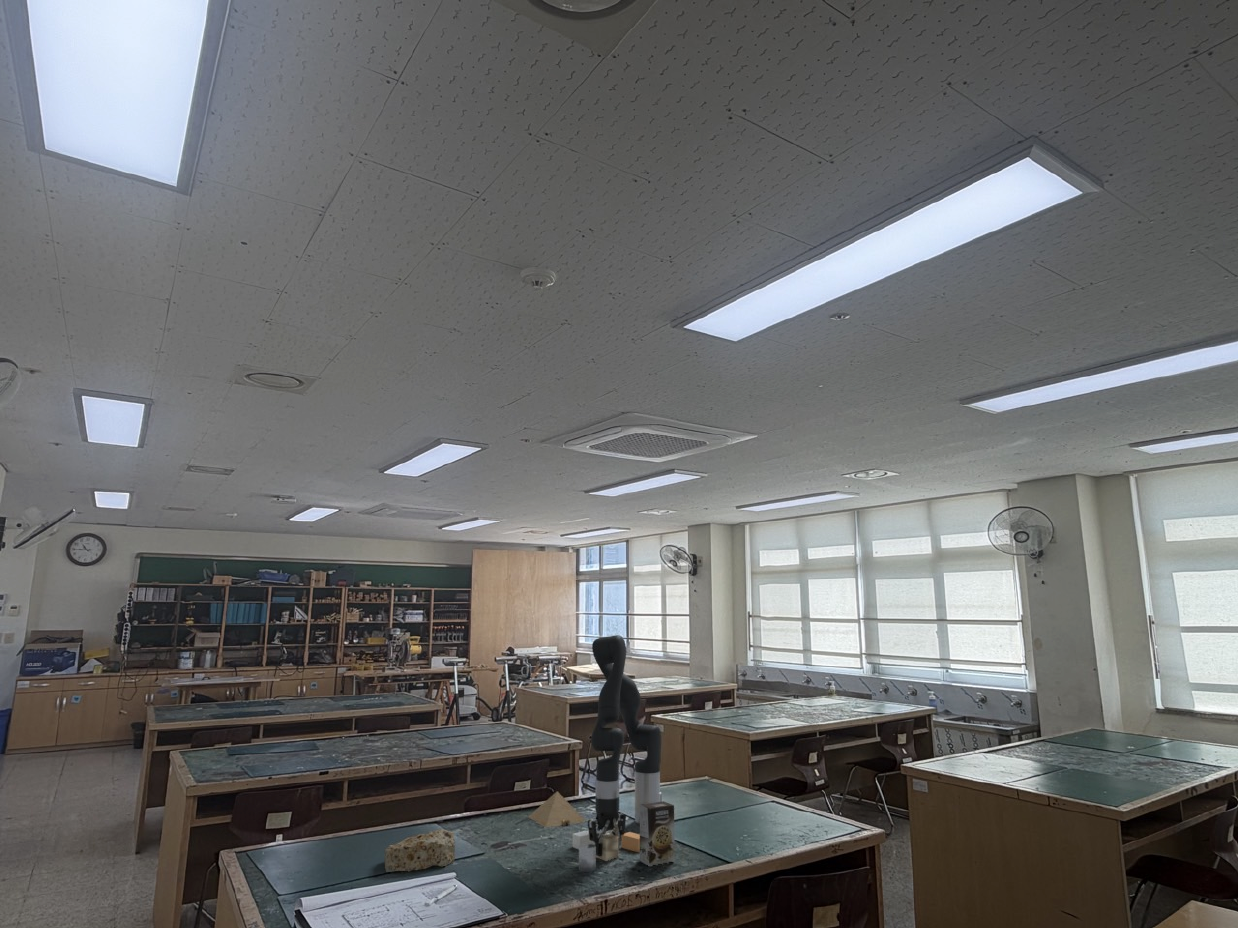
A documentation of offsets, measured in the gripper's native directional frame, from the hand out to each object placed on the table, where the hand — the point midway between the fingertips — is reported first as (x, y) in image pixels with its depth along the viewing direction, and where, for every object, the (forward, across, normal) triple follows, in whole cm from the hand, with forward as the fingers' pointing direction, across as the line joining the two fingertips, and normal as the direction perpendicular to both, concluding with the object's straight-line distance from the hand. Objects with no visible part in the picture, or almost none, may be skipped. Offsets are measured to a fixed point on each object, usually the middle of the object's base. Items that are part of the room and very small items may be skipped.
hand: (607, 853), depth 216 cm
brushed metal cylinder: (+1, +11, +4) cm, 12 cm away
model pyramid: (+2, -13, -44) cm, 46 cm away
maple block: (+1, 0, 0) cm, 1 cm away
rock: (+2, +47, -32) cm, 57 cm away
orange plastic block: (+1, -12, -1) cm, 12 cm away
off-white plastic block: (+1, -1, -13) cm, 13 cm away
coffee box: (+1, -9, +13) cm, 16 cm away
